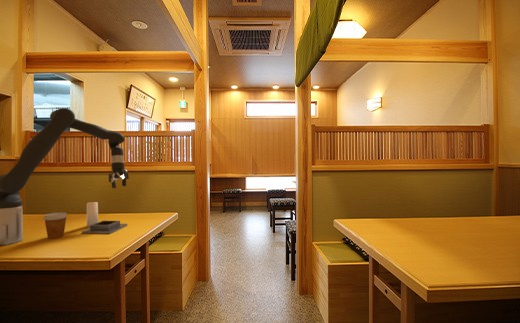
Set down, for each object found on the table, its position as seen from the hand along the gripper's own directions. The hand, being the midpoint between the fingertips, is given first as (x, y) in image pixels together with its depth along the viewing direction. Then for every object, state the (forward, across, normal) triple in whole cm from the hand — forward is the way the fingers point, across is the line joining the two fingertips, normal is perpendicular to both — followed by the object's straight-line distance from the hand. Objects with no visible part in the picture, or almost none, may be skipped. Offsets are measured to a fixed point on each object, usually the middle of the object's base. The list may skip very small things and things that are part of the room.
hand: (119, 187), depth 156 cm
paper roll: (+22, -11, -11) cm, 27 cm away
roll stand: (+25, +3, -14) cm, 29 cm away
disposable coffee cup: (+25, -9, -32) cm, 41 cm away
